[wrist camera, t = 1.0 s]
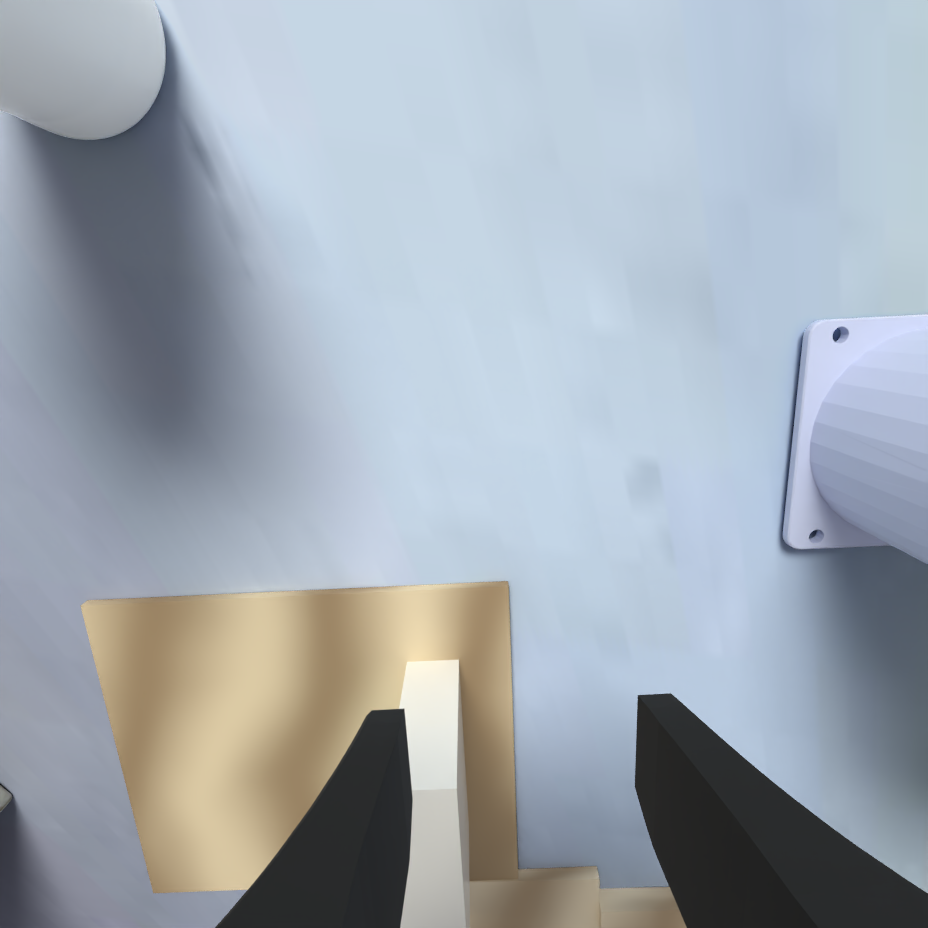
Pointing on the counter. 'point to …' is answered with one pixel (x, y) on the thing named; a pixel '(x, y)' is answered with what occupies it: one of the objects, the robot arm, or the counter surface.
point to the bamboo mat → (289, 713)
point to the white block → (436, 798)
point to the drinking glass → (80, 64)
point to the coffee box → (4, 798)
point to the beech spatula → (569, 902)
